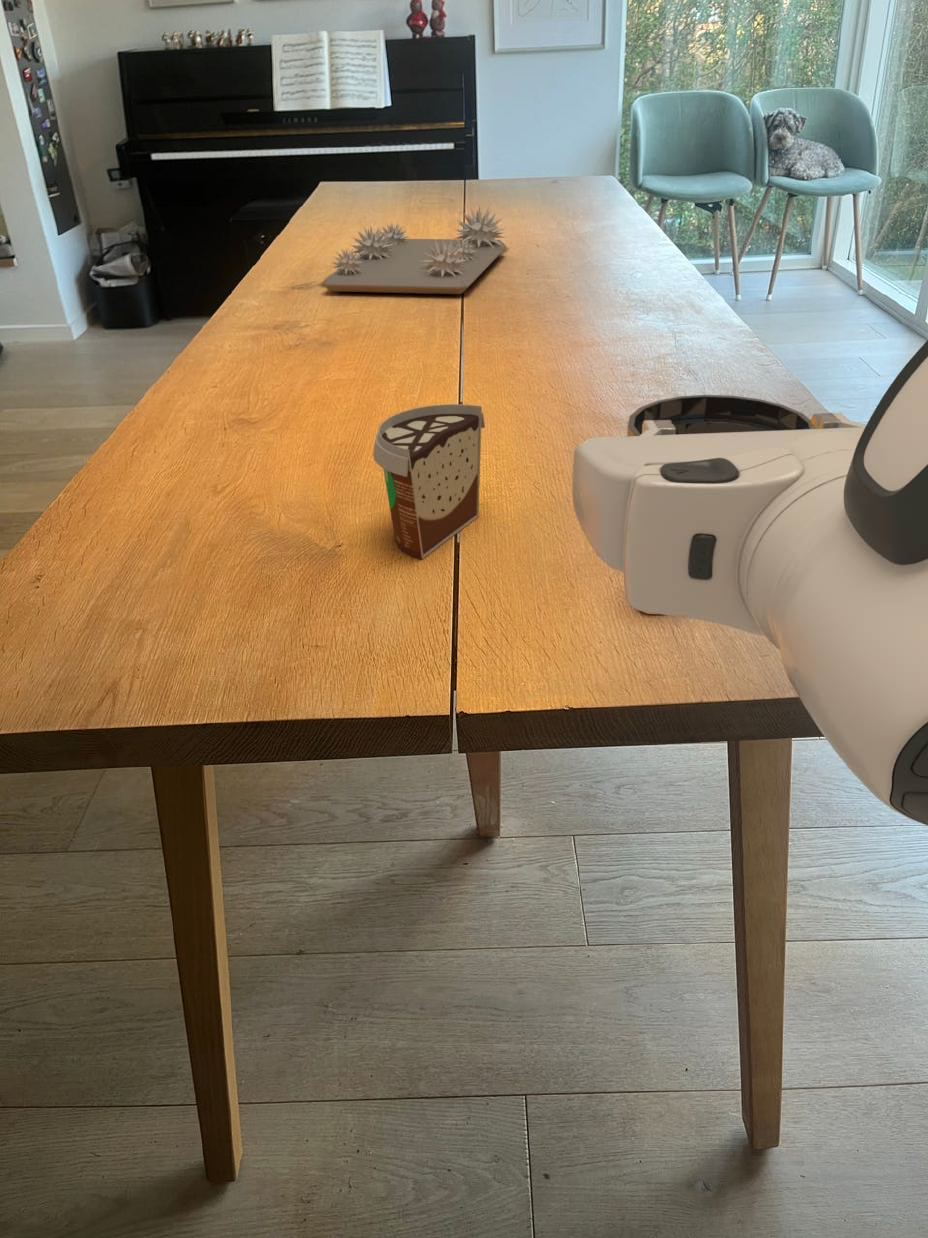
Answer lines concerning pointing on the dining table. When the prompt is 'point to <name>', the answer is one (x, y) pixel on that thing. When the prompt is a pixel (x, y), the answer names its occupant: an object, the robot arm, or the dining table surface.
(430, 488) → the food container
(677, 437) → the robot arm
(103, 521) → the dining table surface
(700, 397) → the faceted ring band
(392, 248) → the decorative tray
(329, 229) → the dining table surface
